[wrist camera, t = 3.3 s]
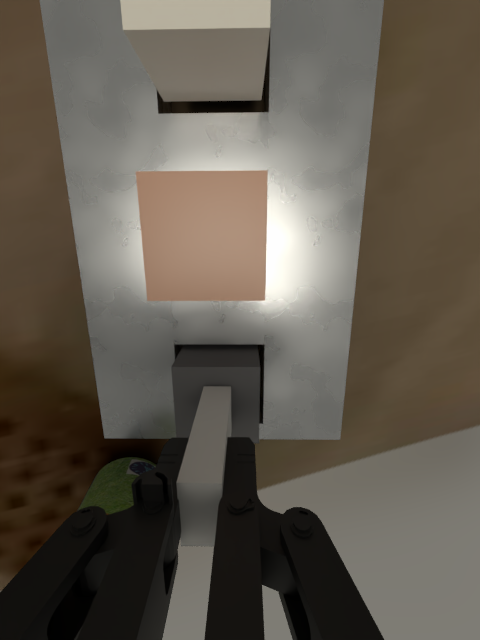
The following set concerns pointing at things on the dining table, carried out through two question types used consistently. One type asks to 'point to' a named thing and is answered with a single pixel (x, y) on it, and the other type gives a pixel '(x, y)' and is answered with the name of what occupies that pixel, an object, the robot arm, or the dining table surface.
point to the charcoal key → (218, 384)
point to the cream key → (201, 46)
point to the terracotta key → (203, 234)
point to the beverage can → (115, 484)
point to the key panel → (221, 155)
